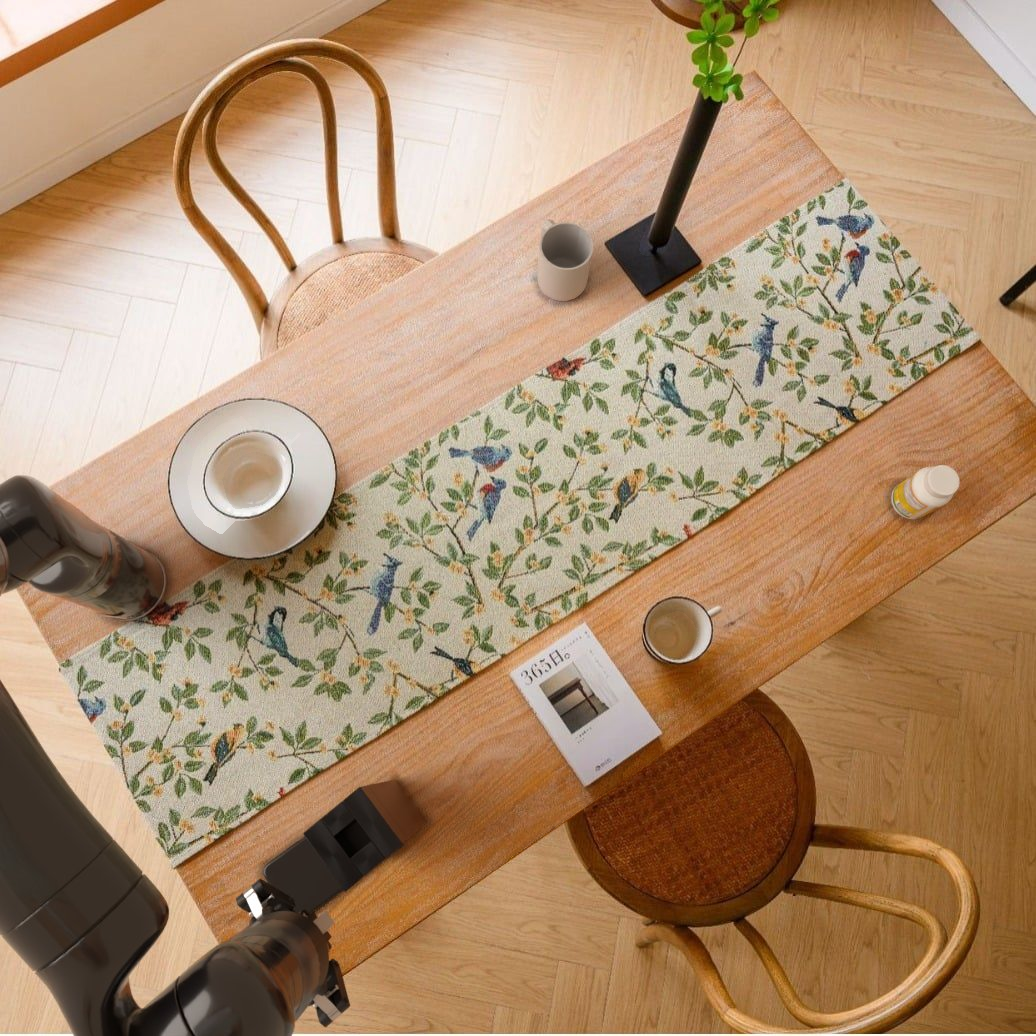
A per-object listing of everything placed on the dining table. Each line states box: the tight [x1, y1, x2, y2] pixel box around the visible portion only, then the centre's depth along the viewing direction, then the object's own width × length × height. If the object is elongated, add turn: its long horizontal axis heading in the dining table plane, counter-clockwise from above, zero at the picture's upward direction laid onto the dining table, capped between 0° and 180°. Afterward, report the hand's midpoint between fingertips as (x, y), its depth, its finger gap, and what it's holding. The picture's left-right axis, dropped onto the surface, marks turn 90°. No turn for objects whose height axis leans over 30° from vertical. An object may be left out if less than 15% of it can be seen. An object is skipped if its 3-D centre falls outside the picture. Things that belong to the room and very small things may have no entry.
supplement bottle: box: [890, 464, 961, 520], centre depth 118 cm, size 5×5×10 cm
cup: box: [536, 218, 594, 302], centre depth 126 cm, size 7×10×9 cm
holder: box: [302, 779, 428, 893], centre depth 97 cm, size 6×6×30 cm
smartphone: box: [262, 836, 405, 914], centre depth 110 cm, size 8×1×16 cm
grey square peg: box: [313, 909, 336, 934], centre depth 85 cm, size 2×2×10 cm
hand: (313, 931), depth 85 cm, fingers closed on grey square peg, 1 cm apart
